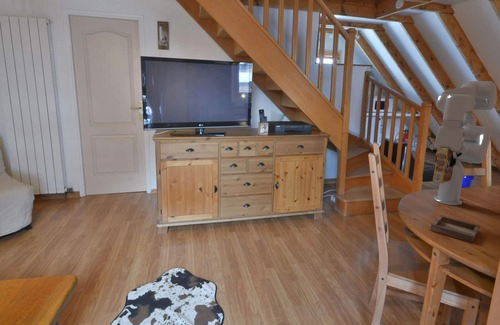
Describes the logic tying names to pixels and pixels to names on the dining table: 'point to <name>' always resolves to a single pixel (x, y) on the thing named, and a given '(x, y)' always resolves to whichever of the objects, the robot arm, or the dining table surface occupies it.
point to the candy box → (443, 166)
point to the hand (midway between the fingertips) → (444, 165)
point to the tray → (455, 228)
